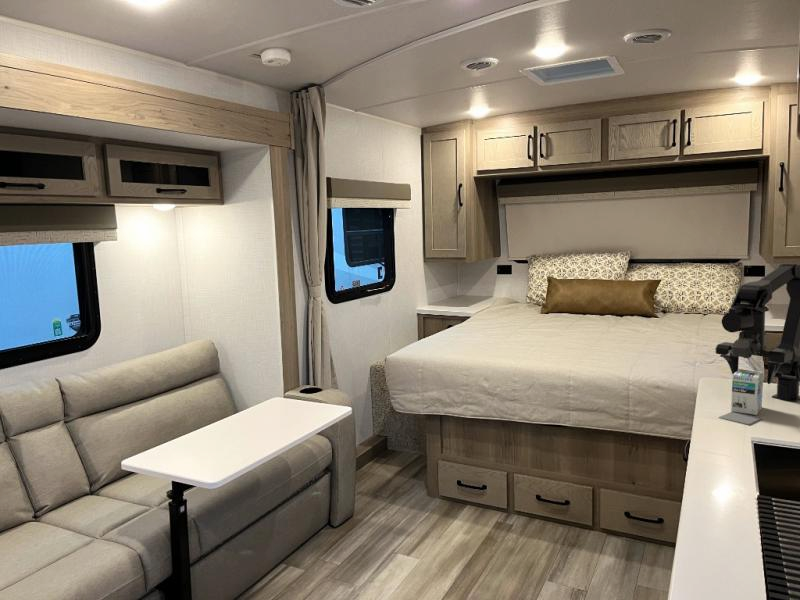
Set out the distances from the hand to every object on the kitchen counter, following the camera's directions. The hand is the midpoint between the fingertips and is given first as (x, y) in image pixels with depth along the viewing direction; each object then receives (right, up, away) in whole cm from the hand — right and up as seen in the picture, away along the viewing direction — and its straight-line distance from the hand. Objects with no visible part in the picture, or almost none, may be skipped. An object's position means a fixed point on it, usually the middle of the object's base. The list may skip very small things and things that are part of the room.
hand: (752, 381), depth 175 cm
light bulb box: (-2, -8, -1) cm, 9 cm away
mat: (-8, -9, -8) cm, 15 cm away
